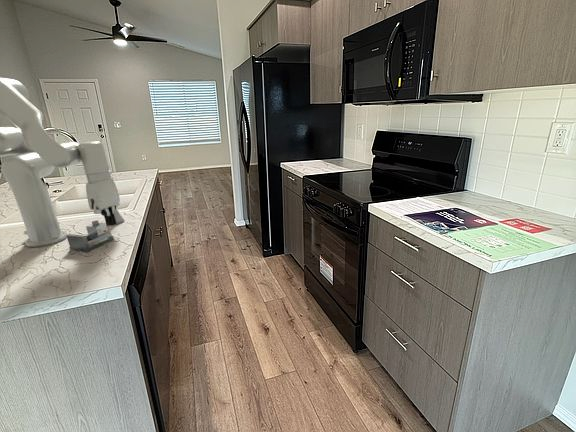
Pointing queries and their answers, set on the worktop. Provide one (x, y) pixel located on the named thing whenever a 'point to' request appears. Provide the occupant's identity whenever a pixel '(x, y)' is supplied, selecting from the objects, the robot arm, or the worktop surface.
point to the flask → (118, 217)
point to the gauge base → (87, 242)
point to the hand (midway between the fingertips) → (111, 224)
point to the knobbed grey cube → (96, 229)
